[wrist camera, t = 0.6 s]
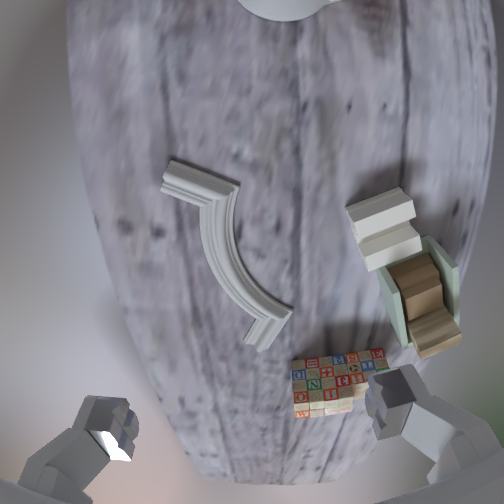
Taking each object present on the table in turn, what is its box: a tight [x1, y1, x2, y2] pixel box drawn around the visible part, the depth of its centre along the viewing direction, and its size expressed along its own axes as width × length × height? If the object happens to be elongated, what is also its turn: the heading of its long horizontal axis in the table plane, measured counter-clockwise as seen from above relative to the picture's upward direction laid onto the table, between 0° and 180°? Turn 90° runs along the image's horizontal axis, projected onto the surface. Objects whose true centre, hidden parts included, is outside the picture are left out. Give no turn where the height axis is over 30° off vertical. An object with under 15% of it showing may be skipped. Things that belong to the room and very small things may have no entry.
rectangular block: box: [403, 304, 462, 360], centre depth 49 cm, size 2×8×15 cm, turn 115°
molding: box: [161, 160, 293, 352], centre depth 55 cm, size 42×12×3 cm, turn 22°
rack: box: [376, 234, 459, 350], centre depth 50 cm, size 14×12×11 cm
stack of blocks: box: [292, 348, 390, 418], centre depth 62 cm, size 21×6×12 cm, turn 99°
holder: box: [345, 187, 422, 272], centre depth 48 cm, size 10×10×6 cm
